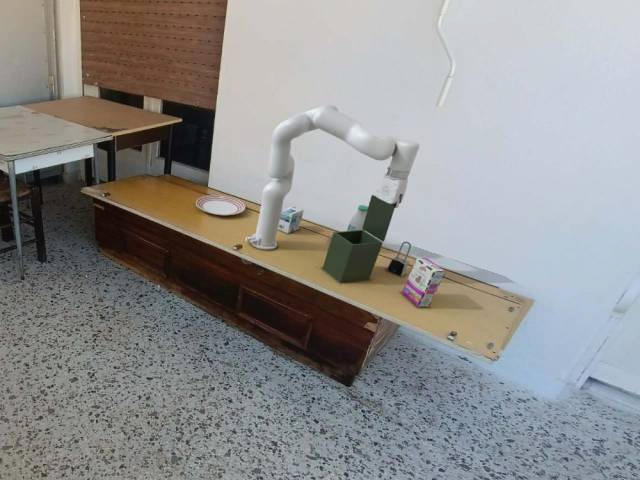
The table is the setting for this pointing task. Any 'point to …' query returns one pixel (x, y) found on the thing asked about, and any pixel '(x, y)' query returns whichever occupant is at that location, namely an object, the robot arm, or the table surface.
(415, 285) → the candy bar box
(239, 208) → the dinner plate
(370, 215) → the bin lid
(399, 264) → the padlock
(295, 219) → the light bulb box
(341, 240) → the bin
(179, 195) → the table surface
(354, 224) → the milk bottle
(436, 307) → the table surface
